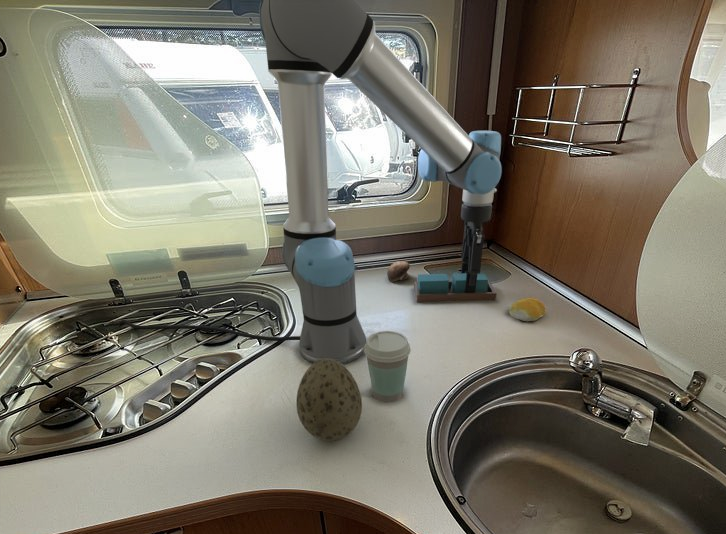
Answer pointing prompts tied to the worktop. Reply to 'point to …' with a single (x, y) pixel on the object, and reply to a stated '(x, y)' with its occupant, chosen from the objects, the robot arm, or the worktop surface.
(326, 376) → the decorative egg
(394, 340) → the coffee cup
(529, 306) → the bread roll
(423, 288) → the turquoise block
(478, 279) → the teal rectangular block
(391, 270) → the mushroom
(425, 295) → the brown shallow rectangular tray
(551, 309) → the worktop surface
